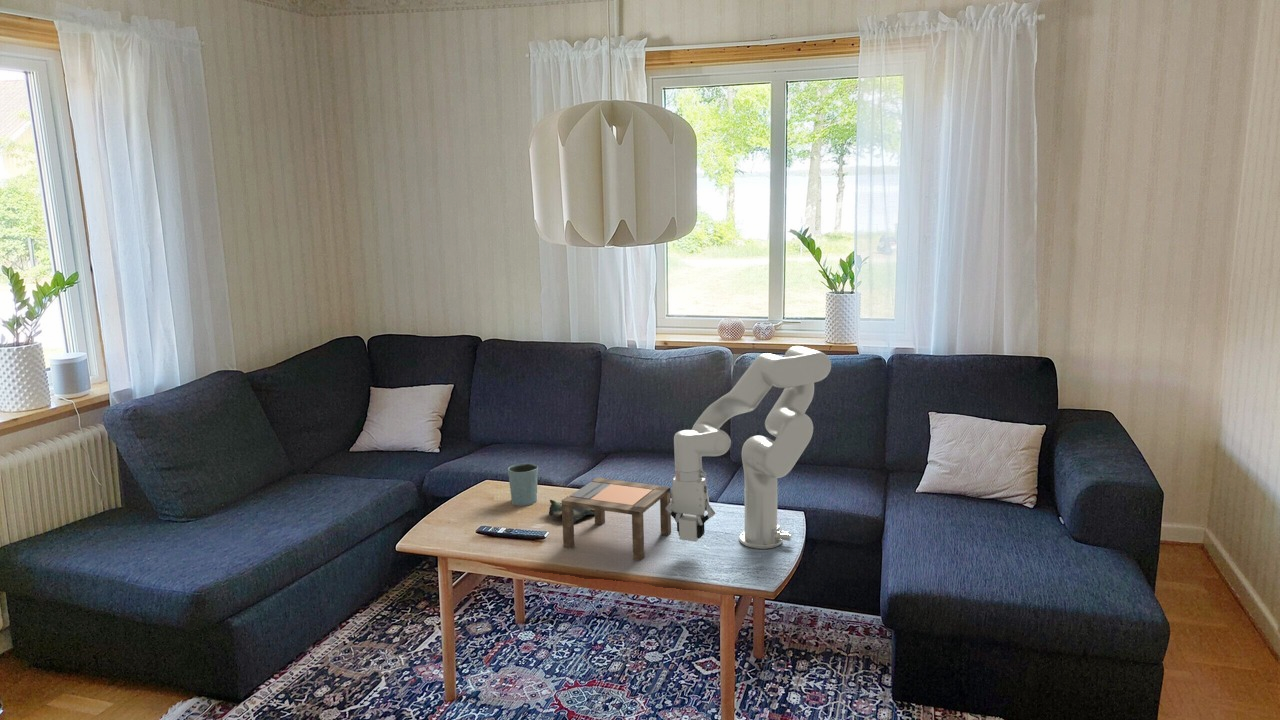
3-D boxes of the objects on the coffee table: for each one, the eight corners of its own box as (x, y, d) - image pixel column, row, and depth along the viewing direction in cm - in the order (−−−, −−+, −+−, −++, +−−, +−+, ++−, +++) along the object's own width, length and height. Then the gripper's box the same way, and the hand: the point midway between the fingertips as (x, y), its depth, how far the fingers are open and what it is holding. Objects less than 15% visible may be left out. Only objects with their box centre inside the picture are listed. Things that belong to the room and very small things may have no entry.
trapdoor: (653, 502, 252) (652, 489, 251) (633, 518, 239) (632, 504, 239) (591, 493, 261) (591, 481, 260) (569, 508, 248) (569, 495, 247)
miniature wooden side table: (671, 532, 256) (670, 487, 253) (640, 560, 236) (639, 511, 234) (598, 521, 266) (596, 477, 264) (563, 547, 247) (561, 500, 244)
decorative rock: (570, 489, 285) (609, 492, 278) (571, 507, 286) (610, 510, 279) (539, 504, 268) (579, 507, 261) (540, 523, 269) (581, 526, 262)
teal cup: (506, 506, 281) (505, 472, 279) (512, 496, 291) (510, 463, 289) (537, 506, 281) (535, 472, 278) (541, 496, 291) (540, 462, 288)
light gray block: (702, 534, 240) (701, 515, 239) (696, 541, 236) (695, 521, 234) (686, 532, 242) (685, 513, 241) (679, 539, 238) (678, 519, 237)
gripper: (722, 473, 235) (723, 534, 239) (666, 467, 242) (668, 526, 246) (712, 481, 228) (714, 544, 232) (655, 475, 236) (658, 536, 239)
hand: (690, 534), depth 239 cm, fingers closed on light gray block, 5 cm apart
